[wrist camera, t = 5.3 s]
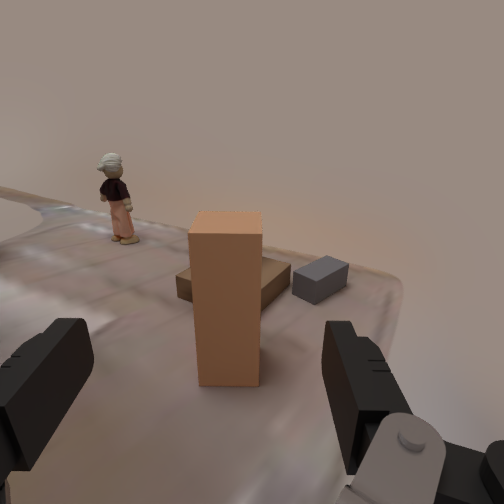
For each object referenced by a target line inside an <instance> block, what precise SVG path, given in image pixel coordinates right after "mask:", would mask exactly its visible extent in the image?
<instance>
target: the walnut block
mask: <svg viewBox="0 0 504 504" xmlns="http://www.w3.org/2000/svg"><path fill="white" fill-rule="evenodd" d="M290 272H291V264H289V263H285V262H281V261H277V260H274V259H270V258H266V257H262V272H261V311H262V310H263V309H265V308H266V307H267V306H268V305H269V304H270V303H271V302H272V301H273V300H274V299H275V298H276V297H277V296H278V295H279V294H280V293H281V292H282V291H283V290H284V289H285V288H286V287H287V286H288V285H289V284H290ZM176 285H177V296H178V297H179V298H181V299H184V300H187V301H189V302H192V303H193V297H192V284H191V270H190V268H188V269H186V270H185V271H183V272H181V273H179V274H177V275H176Z"/></svg>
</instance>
